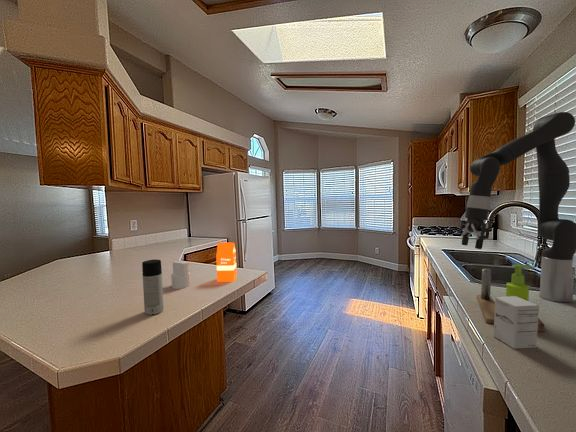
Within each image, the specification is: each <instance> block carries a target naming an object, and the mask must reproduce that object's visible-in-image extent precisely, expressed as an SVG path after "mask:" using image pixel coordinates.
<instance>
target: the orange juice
mask: <svg viewBox="0 0 576 432" xmlns="http://www.w3.org/2000/svg"><path fill="white" fill-rule="evenodd" d="M215 255H216V259H215V261H216V282H217V283H224V282H225V283H227V282H229V283H233V282H235V281H236V279H237V278H238V277H237V273H238V271H237V250H236V246H235V242H217V248H216V254H215Z"/></svg>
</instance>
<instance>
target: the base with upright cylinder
mask: <svg viewBox="0 0 576 432" xmlns="http://www.w3.org/2000/svg"><path fill="white" fill-rule="evenodd" d="M491 285H492V269H490V268H481V286H480V289H481V290H480V294H476V300H477V302H478V306H479V307H480V311H481V313H482V316H483V319H484V321H485V323H488V324H492V325H494V316H495V300H494V299H493V297H492V296H491V288H492V287H491ZM537 332H541V333H544V332H545V324H544V322H543V321H542V320H541V319H540V318H539V317H538V330H537Z"/></svg>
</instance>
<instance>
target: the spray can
mask: <svg viewBox="0 0 576 432" xmlns="http://www.w3.org/2000/svg"><path fill="white" fill-rule="evenodd" d="M141 263H142V264H141V268H142V269H141V270H142V288H143V305H144V314H145V315H147V314H148V315H147V316H153V315H152V314H155V315H157V313H158V314H161V313H162V312H163V311H164V291H163V272H162V260H161V259H149V260H145V261H143V262H141ZM160 312H161V313H160Z"/></svg>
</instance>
